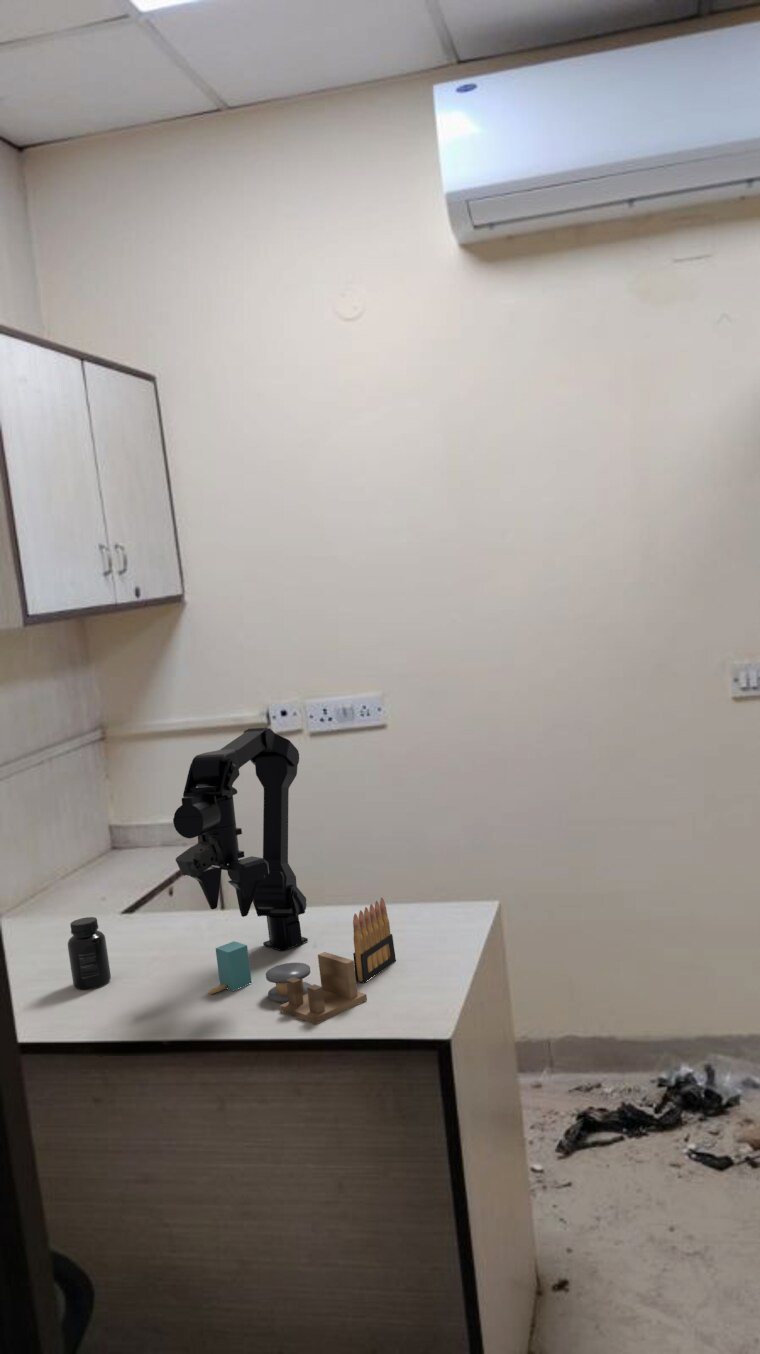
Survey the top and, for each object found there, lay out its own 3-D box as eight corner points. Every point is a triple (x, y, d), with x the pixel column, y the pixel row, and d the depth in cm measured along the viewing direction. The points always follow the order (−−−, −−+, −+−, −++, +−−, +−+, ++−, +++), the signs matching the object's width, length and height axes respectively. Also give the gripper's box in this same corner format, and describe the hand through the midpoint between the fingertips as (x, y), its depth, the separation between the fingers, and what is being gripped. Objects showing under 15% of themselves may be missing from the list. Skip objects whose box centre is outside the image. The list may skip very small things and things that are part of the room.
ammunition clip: (364, 983, 177) (356, 915, 176) (355, 982, 178) (347, 914, 177) (396, 960, 186) (388, 896, 185) (387, 959, 187) (380, 895, 186)
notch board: (280, 1011, 169) (275, 969, 168) (332, 988, 176) (327, 948, 176) (315, 1024, 162) (310, 981, 162) (367, 1000, 170) (362, 958, 169)
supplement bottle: (118, 976, 193) (110, 914, 192) (97, 991, 187) (88, 927, 186) (87, 976, 196) (79, 914, 195) (65, 990, 189) (56, 927, 188)
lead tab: (203, 993, 181) (198, 954, 180) (238, 978, 186) (234, 941, 185) (216, 998, 178) (211, 958, 177) (251, 983, 183) (247, 945, 182)
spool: (259, 996, 176) (256, 973, 176) (294, 981, 181) (291, 959, 181) (286, 1006, 171) (283, 983, 170) (321, 990, 176) (319, 968, 175)
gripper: (151, 830, 182) (160, 917, 183) (211, 839, 168) (222, 933, 169) (203, 817, 189) (213, 901, 190) (266, 825, 176) (275, 915, 177)
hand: (229, 912), depth 182 cm, fingers open, 9 cm apart
